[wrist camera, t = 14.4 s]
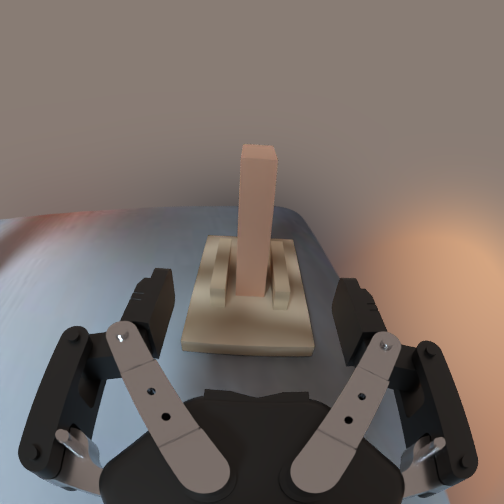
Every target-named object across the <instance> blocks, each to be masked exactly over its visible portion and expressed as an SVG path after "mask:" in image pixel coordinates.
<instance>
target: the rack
mask: <svg viewBox="0 0 504 504" xmlns="http://www.w3.org/2000/svg"><path fill="white" fill-rule="evenodd" d="M237 239H238V237H233V236H213V235H208V238H207V241H206V245H205V248H204V252H203V256H202V259H201V263H200V267H199V270H198V274H197V278H196V282H195V286H194V289H193V293H192V297H191V301H190V305H189V309H188V313H187V317H186V321H185V325H184V330H183V334H182V338H181V345H182V350H183V351H191V352H203V353H215V354H231V355H251V356H312V353H313V350H314V347H315V346H314V341H313V335H312V330H311V325H310V319H309V314H308V309H307V304H306V299H305V294H304V289H303V284H302V279H301V275H300V270H299V265H298V261H297V256H296V252H295V247H294V243H293V240H288V239H270V248H269V257H268V267H267V276H266V285H265V294H264V297H254V296H236V268H237Z"/></svg>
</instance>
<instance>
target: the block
mask: <svg viewBox="0 0 504 504" xmlns="http://www.w3.org/2000/svg"><path fill="white" fill-rule="evenodd" d="M277 165H278V158H277V155H276V153H275V150H274V147H273V146H268V145H252V144H243V149H242V155H241V167H240V190H239V213H238V239H237V268H236V296H254V297H264V294H265V285H266V276H267V267H268V257H269V248H270V238H271V228H272V219H273V208H274V198H275V186H276V177H277Z"/></svg>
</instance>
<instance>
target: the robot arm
mask: <svg viewBox="0 0 504 504" xmlns="http://www.w3.org/2000/svg"><path fill="white" fill-rule="evenodd" d="M174 304H175V292H174V284H173V277H172V271H171V269H163V268H155V269H154V271H153V274H152V276H151V278H144V279H143V280H141V281H140V282H139V283H138V284H137V286H136V288H135V290H134V293H133V294H132V296H131V299H130V300H129V303H128V305H127V307H126V309H125V311H124V313H123V316H122V318H121V320H120V321H119V322H116V323H114V324H112V325H111V326H110V327H109V328H108V330H107V332H104V333H96V334H89V333H88V331H87V330H86V329H85V328H84V327H81V326H73V327H70V328H68V329H67V330H65V331H64V333H63V334H62V335H61V338H60V340H59V342H58V344H57V346H56V348H55V350H54V353H53V355H52V357H51V359H50V362H49V364H48V366H47V369H46V371H45V373H44V376H43V378H42V381H41V383H40V386H39V388H38V391H37V393H36V396H35V399H34V402H33V404H32V407H31V410H30V413H29V416H28V419H27V422H26V425H25V428H24V431H23V435H22V438H21V441H20V445H19V449H18V456H19V459H20V462H21V464H22V465H23V466H24V467H25V468H26V469H27V470H29V471H31V472H32V473H34V474H36V475H37V476H38V477H40V478H42V479H43V480H45V481H47V482H49V483H51V484H53V485H55V486H58V487H61V488H63V489H65V490H68V491H75V490H79V491H82V492H85V493H89V494H92V495H95V496H99V497H101V498H102V500H103V503H104V504H401V502H402V500H404V499H407V498H411V497H415V496H419V497H422V498H426V497H429V496H431V495H434V494H436V493H438V492H441V491H443V490H445V489H447V488H449V487H451V486H453V485H455V484H458V483H459V482H461V481H463V480H465V479H467V478H469V477H471V476H472V475H473V474H474V473H475V471H476V469H477V466H478V457H477V453H476V449H475V445H474V441H473V438H472V434H471V431H470V427H469V424H468V421H467V418H466V415H465V411H464V409H463V406H462V403H461V400H460V397H459V394H458V391H457V389H456V386H455V383H454V381H453V378H452V375H451V373H450V370H449V368H448V365H447V363H446V361H445V358H444V356H443V353H442V351H441V349H440V348H439V347H438V346H437V345H436V344H435V343H433V342H431V341H422V342H420V343H419V344H418V346H417V347H416V348H415V347H410V346H405V345H401V343H400V341H399V339H398V338H397V337H396V336H395V335H393V334H391V333H389V332H387V329H386V327H385V325H384V322H383V320H382V318H381V315H380V313H379V311H378V308H377V306H376V305H375V302H374V299H373V297H372V296H371V294H369V292H368V291H367V290H366V289H361V288H360V286H359V284H358V281H357V280H356V279H355V278H340V280H339V282H338V286H337V289H336V293H335V296H334V299H333V303H332V314H333V318H334V321H335V325H336V329H337V332H338V336H339V340H340V344H341V347H342V351H343V355H344V359H345V363H346V366H355V371H354V372H353V374H352V376H351V378H350V379H349V381H348V383H347V384H346V386H345V388H344V389H343V391H342V392H341V394H340V396H339V397H338V399H337V400H336V402H335V404H334V405H333V407H332V408H330V407H329V406H327V405H325V404H323V403H321V402H319V401H316V400H312V399H309V393H308V392H283V393H278V394H274V395H269V396H265V397H259V398H256V397H251V396H247V395H243V394H240V393H236V392H232V391H223V390H210V389H205V392H204V396H200V397H196V398H192V399H190V400H187V401H185V402H182V401H181V399H180V398H179V396H178V395H177V393H176V391H175V390H174V388H173V387H172V385H171V383H170V382H169V380H168V379H167V377H166V375H165V374H164V372H163V370H162V369H161V367H160V365H159V364H158V362H157V360H156V359H153V358H157V359H159V356H160V353H161V349H162V346H163V342H164V339H165V335H166V332H167V328H168V325H169V321H170V318H171V315H172V311H173V308H174ZM114 378H123V381H124V383H125V385H126V387H127V389H128V391H129V394H130V396H131V398H132V400H133V402H134V404H135V406H136V408H137V410H138V412H139V414H140V415H141V417H142V419H143V421H144V423H145V425H146V427H147V428H148V431H147V432H146V433H145V434H143V435H142V436H141V437H140V438H139V439H137V440H136V441H135V442H134V443H132V444H131V445H130V446H129V447H127V448H126V449H125V450H123V451H122V452H121V453H120V454H118V455H117V456H116V457H114V458H113V459H112V460H111V461H109V462H108V463H107V464H106V465H105V467H104V468H102V466H101V464H100V460H99V450H98V447H97V446H96V444H95V443H94V442H93V441H92V440H91V439H92V435H93V430H94V426H95V422H96V418H97V414H98V410H99V406H100V402H101V398H102V395H103V391H104V387H105V384H106V380H107V379H114ZM387 388H390V389H393V390H394V394H395V398H396V402H397V406H398V411H399V415H400V419H401V424H402V429H403V434H404V439H405V444H406V450H405V451H404V452H403V454H402V456H401V464H400V469H399V468H398V467H397V466H396V465H395V464H394V463H392V462H391V461H390V460H389V459H388V458H387V457H385V456H384V455H383V454H382V453H381V452H380V451H378V450H377V449H376V448H375V447H374V446H373V445H372V444H370V443H369V442H368V441H367V440H366V439H365V438H364V437H363V436H364V434H365V432H366V431H367V429H368V427H369V425H370V423H371V421H372V419H373V417H374V415H375V413H376V411H377V409H378V407H379V405H380V403H381V400H382V398H383V396H384V394H385V392H386V390H387Z"/></svg>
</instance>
